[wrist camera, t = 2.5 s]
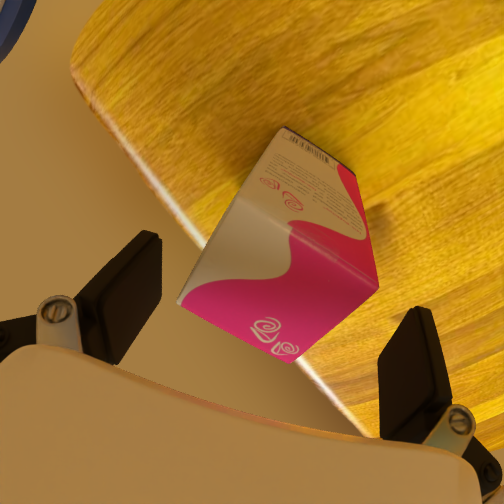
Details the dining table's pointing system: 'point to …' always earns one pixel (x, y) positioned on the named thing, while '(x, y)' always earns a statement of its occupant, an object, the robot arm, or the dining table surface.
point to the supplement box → (286, 252)
